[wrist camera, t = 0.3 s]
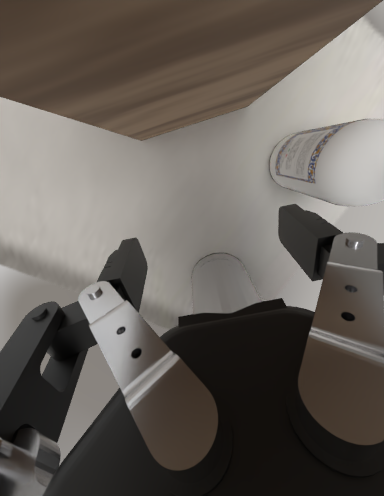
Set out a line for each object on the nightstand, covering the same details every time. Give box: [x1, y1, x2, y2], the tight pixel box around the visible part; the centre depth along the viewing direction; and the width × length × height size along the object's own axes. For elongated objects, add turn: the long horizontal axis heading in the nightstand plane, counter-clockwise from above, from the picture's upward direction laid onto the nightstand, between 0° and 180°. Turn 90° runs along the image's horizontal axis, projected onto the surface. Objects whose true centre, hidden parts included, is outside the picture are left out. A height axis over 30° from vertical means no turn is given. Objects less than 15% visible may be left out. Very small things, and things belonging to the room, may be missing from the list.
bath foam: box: [270, 119, 384, 207], centre depth 20 cm, size 7×7×20 cm
